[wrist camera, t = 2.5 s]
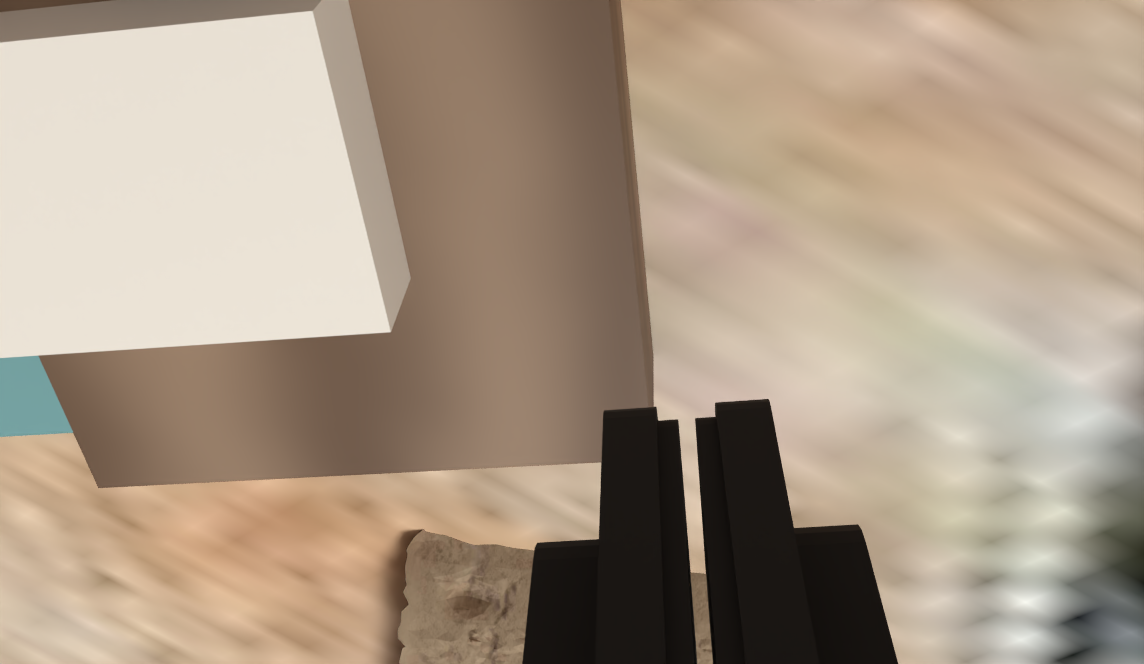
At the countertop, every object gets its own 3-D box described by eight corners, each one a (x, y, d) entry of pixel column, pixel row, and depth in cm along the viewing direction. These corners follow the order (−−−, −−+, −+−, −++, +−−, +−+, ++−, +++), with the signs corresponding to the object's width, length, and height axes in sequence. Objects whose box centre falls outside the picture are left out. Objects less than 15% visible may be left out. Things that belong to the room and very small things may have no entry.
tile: (343, -24, 19) (312, 10, 17) (411, 277, 22) (391, 332, 20) (-88, 20, 20) (-156, 58, 18) (38, 305, 23) (-11, 358, 21)
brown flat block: (582, -405, 19) (568, -412, 16) (653, 357, 28) (653, 459, 24) (-109, -307, 20) (-258, -293, 17) (162, 387, 29) (98, 487, 26)
